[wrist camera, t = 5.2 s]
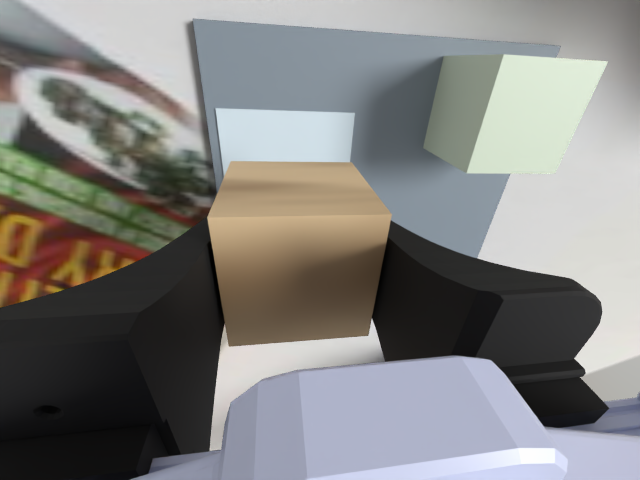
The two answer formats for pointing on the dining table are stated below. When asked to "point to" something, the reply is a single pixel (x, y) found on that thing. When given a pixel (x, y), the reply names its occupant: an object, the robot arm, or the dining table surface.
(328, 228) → the oak block
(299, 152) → the slate board
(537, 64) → the sage block
